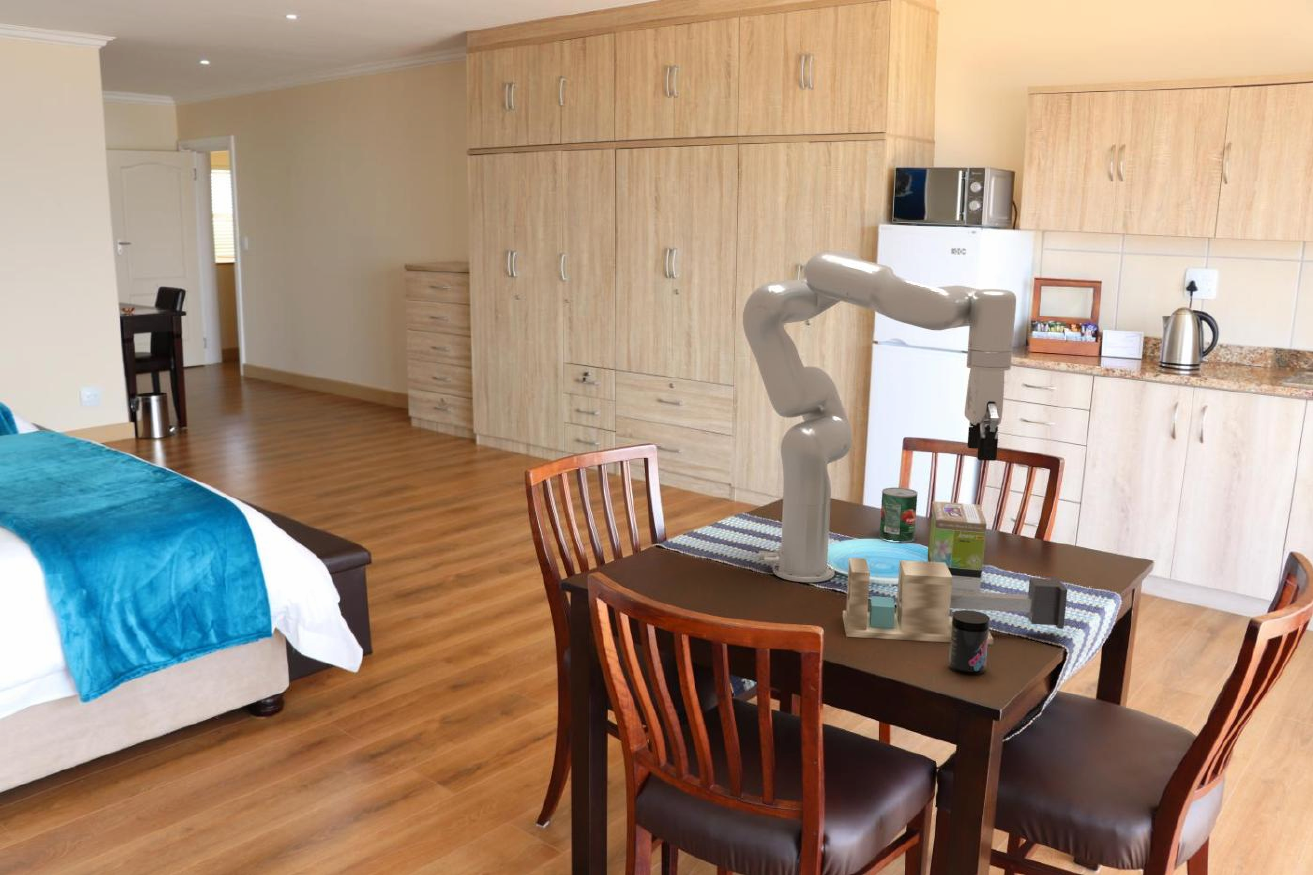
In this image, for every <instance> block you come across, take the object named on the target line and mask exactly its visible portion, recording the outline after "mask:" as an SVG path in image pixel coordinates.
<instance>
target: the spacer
mask: <svg viewBox="0 0 1313 875" xmlns="http://www.w3.org/2000/svg"><path fill="white" fill-rule="evenodd" d="M894 599H895V598H894V597H890V596H889V597H888V596H874V595H871V596H870V600H869V601H870V604H869V612H870V616H869V618H870V627H873V628H886V629H894V615H895V613H896V611H895V610H896V606H895V600H894Z"/></svg>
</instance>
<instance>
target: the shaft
mask: <svg viewBox="0 0 1313 875" xmlns="http://www.w3.org/2000/svg"><path fill="white" fill-rule="evenodd" d="M1028 581H1029V583H1028V592H1027V594H1020V593H1019V594H1018V593H1000V592H983V591H982V592H981V591H980V592H965V591H951V603H950V609H957V610H958V609H959V610H971V611H995V612H998V611H999V612H1013V613H1014V612H1015V613H1026V615H1025V616H1026V618H1027V620H1028V621H1029V622H1030V624H1031V625H1043V626H1044V625H1045V626H1055V627H1056V628H1057V629H1061V630H1064V629H1065V628H1064V626H1065V625H1064V624H1065V618H1066V607H1067V606H1066V605H1067V598H1068V589H1067V588H1066V587H1065V585H1064V584H1063V583H1062V581H1061V580H1060V579H1059V578H1058V576H1050V578H1038V577H1037V578H1034V577H1033V578H1031V577H1029V580H1028Z"/></svg>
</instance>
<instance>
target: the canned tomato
mask: <svg viewBox="0 0 1313 875" xmlns="http://www.w3.org/2000/svg"><path fill="white" fill-rule="evenodd" d="M881 492H882V493H881V507H880V509H881V510H880V521H879V522H880V524H879V535H878V536H879V539H880V540H882V539H886V540H893V541H899V542H908V543H911V542H912V543H913V541H915V539H916V538H915V535H916V534H915V533H916V521H917V520H916V519H917V505H918V491H916V490H914V489H911V488H906V487H895V486H894V487H885V488H883V489H882V491H881ZM908 543H907V544H908Z"/></svg>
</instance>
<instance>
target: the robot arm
mask: <svg viewBox="0 0 1313 875" xmlns="http://www.w3.org/2000/svg"><path fill="white" fill-rule="evenodd" d="M840 302H842V303H847V304H851V305H855V306H858V307H862V308H865V309H869V310H871V311H874V312H876V313H878V314H880V315H883V317H884V316H885V317H886V318H889V319H891V320H894V321H896V322H900V323H902V324H907V325H911V326H914V327H917V328H921V329H925V330H930V331H943V330H949V329H956V328H961V327H962V328H963V327H968V341H967V356H966V368H968V369H969V374H968V380H967V388H966V397H965V404H964V405H965V406H964V417H965V418H966V419H967V420H968V421H969V426H968V434H967V448H968V449H977V454H976V458H977V460H978V461H988V462H989V461H991V462H994V461H996V460H997V457H998V444H999V427H998V426H999V425H1001V423H1002V420H1003V419H1002V418H1003V409H1004V393H1005V391H1004V390H1005V371H1009V370H1011V368H1012V354H1013V346H1014V345H1013V343H1014V342H1013V340H1014V335H1015V334H1014V332H1015V322H1016V309H1017V296H1016V294H1015V292H1013V291H1011V290H1009V289H1008V290H1007V289H997V288H996V289H993V288H992V289H991V288H990V289H989V288H985V289H983V288H982V289H979V288H976V287H974V288H973V287H969V286H963V285H947V286H939V287H936V286H933V285H932V286H931V285H927V284H924V283H919V282H915V281H911V280H908V279H904V278H901V277H900V276H898V275H896V274H894V271H893V269H892V267H889V266H888V265H885V264H881V263H876V262H873V261H869V260H864V259H862V258H861V257H860V256H859V255H857V254H856V253H854V252H852V251H847V250H831V251H822V252H818V253H816V254H814V255H813V256H812V257H811V258H809V260H808V261H807V263H806V264H805V267H804V269H803V276H802V277H801V278H799V279H790V280H777V281H771V282H767V283H764V284H762V285H760V286H759V287H758V288H756V289H755V290H753V292H752V293H751V294H750V295H749V297H748V298H747V300H746V302H745V305H744V308H743V312H742V326H743V332H744V335H745V337H746V340H747V342H748V344H749V347H750V349H751V351H752V354H753V356H754V359H755V361H756V364H757V367H758V371H759V374H760V376H761V379H762V382H763V384H764V387H765V390H766V393H767V395H768V396H767V397H768V398H769V401H770V403H771V406H772V408H773V410H774V411H775V413H776V414H778V415H779V416H780V417H783V418H786V419H787V418H789V419H790V418H797V417H801V416H802V419H803V421H801V422H799V423H797V424H795V425H793V426H792V427H790V428H789V429H788V430H787V431H786V432H785V433H784V435H783V437H782V439H781V444H780V456H781V462H782V463H781V465H782V472H783V487H782V488H783V489H782V491H783V493H782V514H781V515H782V520H781V541H780V542H781V544H780V545H781V546H779V547H778V548H779V550H777V549H776V550H775V549H774V550H773V551H768V550H759V551H758V561H764V562H763V564H772V573H773V574H774V575H775V576H777V577H779V578H781V579H783V580H786V581H790V582H796V583H799V582H800V583H819V582H826V581H829V580H831V579H832V578H833V577H834V576H835V570H834V569H835V568H834V569H831V567H830V566H828V565H827V563H828V557H829V538H830V519H831V518H830V516H831V499H832V498H831V495H832V493H831V492H832V486H831V479H830V476H829V475H830V474H829V471H828V464H832V463H833V462H837V461H839V460H840V459H843V458H845V456H847V454H848V453H849V452H850V450H851V448H852V445H853V433H852V432H853V431H852V427H851V425H850V422H849V419H848V416H847V414H846V411H845V408H844V405H843V403H842V400H841V397H840V393H839V392H838V389H837V386H836V384H835V382H834V381H833V379H832V377H831V376H830V375H829V374H828V373H827V372H826V371H825V370H823V369H821V368H819V367H817V366H804V364H803V361H802V360H801V357H800V354H799V352H798V351H799V350H798V349H797V346H796V344H795V342H794V340H793V339H792V338H791V336H790V335H789V333H787V331H786V329H785V327H784V326H785V324H793V323H800V322H805V321H808V320H810V319H813V318H815V317H817V316H819V315H820V314H822V313H824V312H825V311H827V310H829V309H831V308H832V307H833V306H835V305H836V304H838V303H840Z"/></svg>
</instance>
